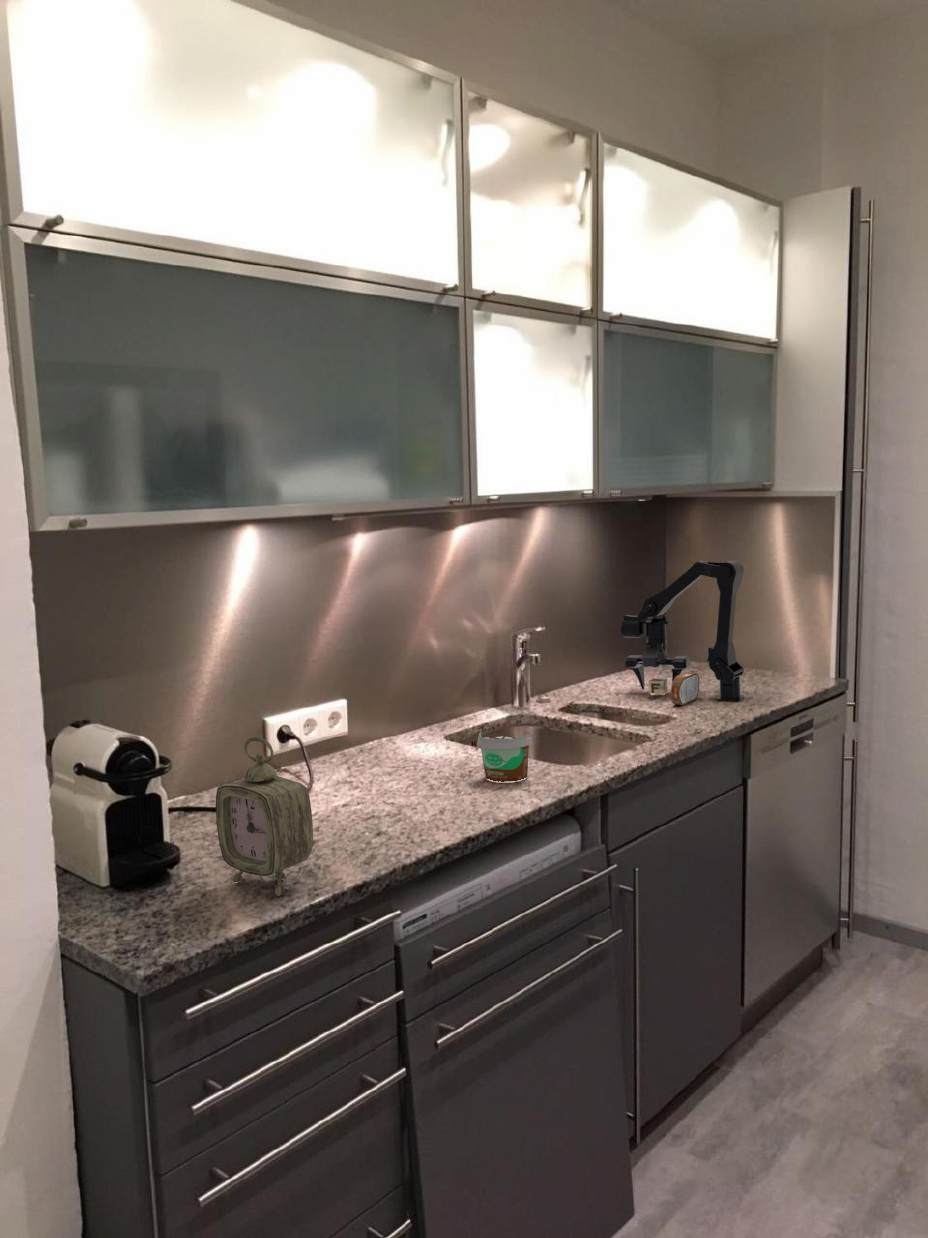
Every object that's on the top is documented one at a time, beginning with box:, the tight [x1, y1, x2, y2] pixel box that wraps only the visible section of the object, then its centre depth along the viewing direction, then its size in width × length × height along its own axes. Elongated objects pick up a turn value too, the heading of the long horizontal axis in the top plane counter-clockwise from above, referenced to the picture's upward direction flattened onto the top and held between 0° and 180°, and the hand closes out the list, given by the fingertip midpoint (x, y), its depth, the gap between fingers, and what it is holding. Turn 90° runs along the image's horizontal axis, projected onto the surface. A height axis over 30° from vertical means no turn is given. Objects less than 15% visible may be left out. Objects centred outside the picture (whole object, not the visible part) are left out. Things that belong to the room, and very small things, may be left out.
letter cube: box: [647, 677, 669, 694], centre depth 304 cm, size 5×4×5 cm
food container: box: [476, 732, 533, 782], centre depth 220 cm, size 12×6×10 cm, turn 68°
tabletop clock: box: [215, 736, 314, 896], centre depth 166 cm, size 14×9×25 cm, turn 51°
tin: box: [670, 671, 700, 706], centre depth 290 cm, size 15×3×8 cm, turn 144°
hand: (658, 690), depth 304 cm, fingers open, 9 cm apart
